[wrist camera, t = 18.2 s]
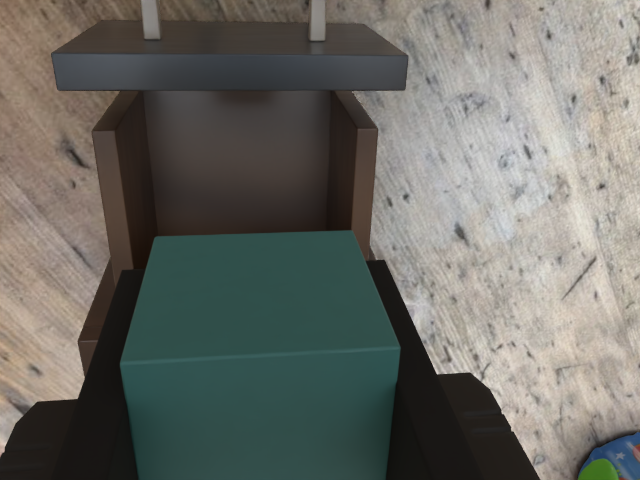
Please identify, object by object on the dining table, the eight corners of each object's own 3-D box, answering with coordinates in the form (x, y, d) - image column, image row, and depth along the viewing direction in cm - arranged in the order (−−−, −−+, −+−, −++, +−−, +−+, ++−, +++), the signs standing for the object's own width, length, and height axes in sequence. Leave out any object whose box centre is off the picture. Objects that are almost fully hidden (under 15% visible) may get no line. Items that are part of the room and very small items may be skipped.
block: (154, 235, 13) (118, 362, 9) (353, 229, 14) (402, 347, 10) (171, 393, 15) (148, 554, 11) (344, 381, 16) (382, 531, 12)
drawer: (71, -200, 22) (-6, -260, 15) (376, -182, 23) (436, -230, 16) (137, 287, 32) (108, 386, 25) (349, 278, 33) (379, 370, 26)
